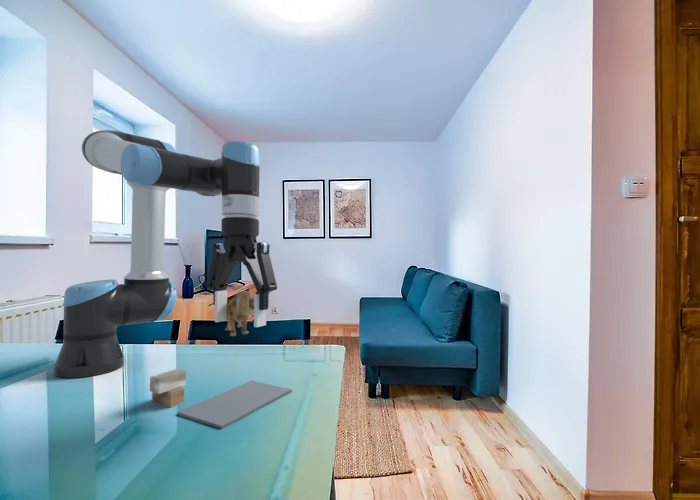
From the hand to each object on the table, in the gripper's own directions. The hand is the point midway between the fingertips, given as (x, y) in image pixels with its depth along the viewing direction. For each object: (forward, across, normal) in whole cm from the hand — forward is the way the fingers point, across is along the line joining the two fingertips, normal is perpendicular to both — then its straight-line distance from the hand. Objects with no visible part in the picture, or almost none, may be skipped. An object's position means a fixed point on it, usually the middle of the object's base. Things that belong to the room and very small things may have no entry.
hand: (239, 323), depth 76 cm
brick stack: (+16, -13, -7) cm, 22 cm away
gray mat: (+16, 0, 0) cm, 16 cm away
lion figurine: (+2, -1, +1) cm, 3 cm away
